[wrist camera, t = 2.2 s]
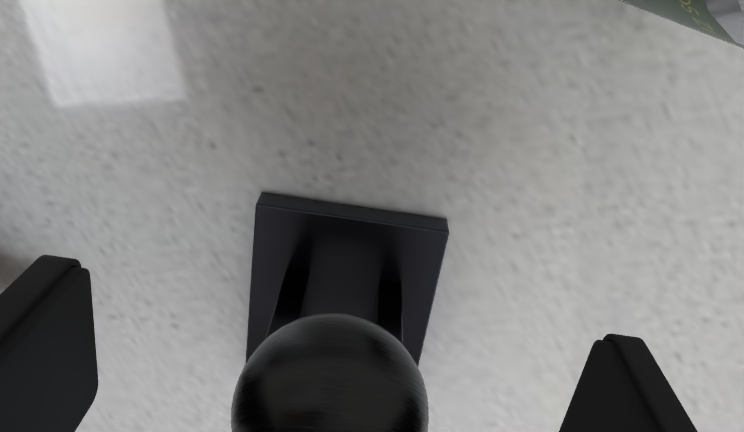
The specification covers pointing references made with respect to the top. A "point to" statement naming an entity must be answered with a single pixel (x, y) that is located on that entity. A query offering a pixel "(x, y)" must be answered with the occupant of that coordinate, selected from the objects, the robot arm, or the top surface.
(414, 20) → the top surface
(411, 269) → the switch bracket
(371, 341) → the switch lever
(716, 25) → the beer can
